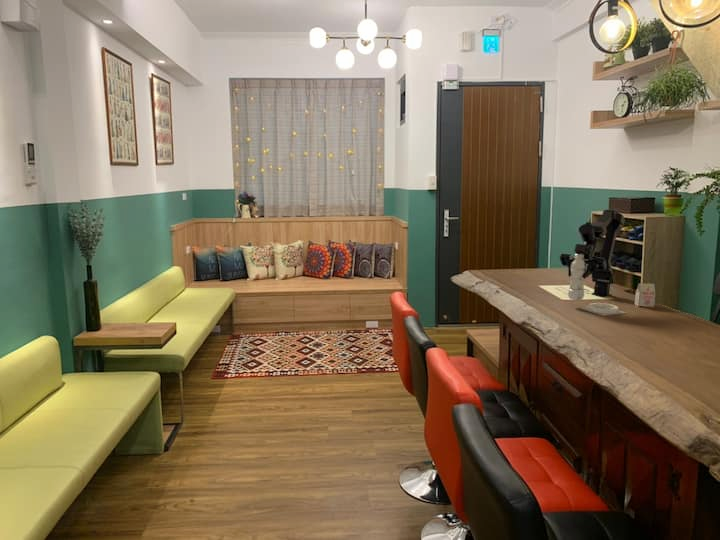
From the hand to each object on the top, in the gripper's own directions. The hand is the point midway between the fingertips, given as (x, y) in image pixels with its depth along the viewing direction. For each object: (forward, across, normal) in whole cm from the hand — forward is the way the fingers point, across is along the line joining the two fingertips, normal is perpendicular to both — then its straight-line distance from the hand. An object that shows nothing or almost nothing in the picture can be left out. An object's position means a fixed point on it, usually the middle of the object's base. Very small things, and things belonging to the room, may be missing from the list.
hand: (576, 277), depth 244 cm
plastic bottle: (+6, 0, +8) cm, 10 cm away
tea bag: (-8, +21, +28) cm, 36 cm away
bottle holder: (+7, +11, +12) cm, 18 cm away
